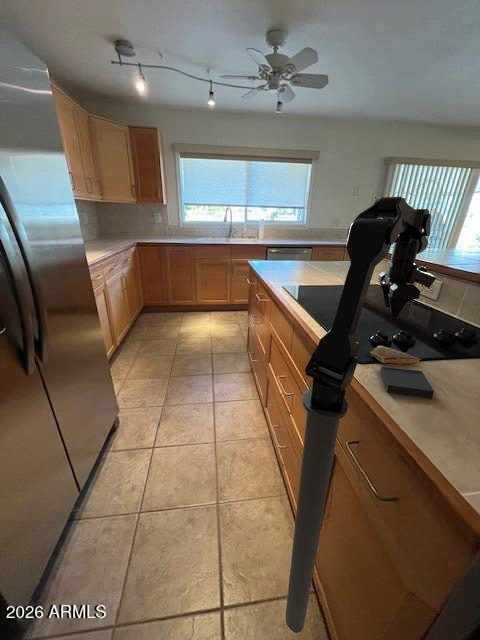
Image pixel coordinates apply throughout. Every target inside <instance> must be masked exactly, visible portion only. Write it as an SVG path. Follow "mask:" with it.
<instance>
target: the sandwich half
mask: <svg viewBox="0 0 480 640" xmlns="http://www.w3.org/2000/svg"><path fill="white" fill-rule="evenodd" d="M369 354H370V357H372V358H375V359H376V360H377V361H379V363H382V364H414V363H415V364H417V363H420V361H421V360H423V359H422V358H421V357H417V356H414V355H411V354H408V353H405V352H403V351H399V350H397V349H394V348H391V347H387V346H385V345H378V346H376V347H375V348H373V349H372V350H370V353H369Z"/></svg>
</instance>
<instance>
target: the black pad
mask: <svg viewBox="0 0 480 640" xmlns="http://www.w3.org/2000/svg"><path fill="white" fill-rule="evenodd" d="M379 374H380V377H381V380H382V382H383V386H384V388H385V391H386V393H391V394H397V395H405V396H411V397H418V398H425V399H431V400H432V399H433V396H434V394H435V390H434V388H433V386H432V385H431V384H430V381H429V380H428V378H426V376H425V374H424V372H423V370H419V369H410V368H402V367H394V366H386V365H380V370H379Z"/></svg>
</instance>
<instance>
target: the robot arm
mask: <svg viewBox="0 0 480 640" xmlns="http://www.w3.org/2000/svg"><path fill="white" fill-rule="evenodd" d="M431 224H432V214H431V213H430V210H429V209H428V208H414V207H413V206H412V205H410V203H408V202H407V201H406V198H405V197H402V196H381V197H380V198H377V199H376V200H375V202H374V203H373V204H372V205H370V206H369V207H367V208H365V210H362V211H361V212H360V213H358V214H357V216H356V217H355V218H354V220H353V221H352V223H351V224H350V225H349V227H348V229H347V235H346V236H347V237H346V239H347V241H346V245H345V246H346V247H345V248H346V252H347V254H348V258H349V266H348V269H347V272H346V276H345V279H344V282H343V286H342V290H341V294H340V297H339V301H338V304H337V307H336V310H335V315H334V318H333V321H332V325H331V328H330V329H329V331H327V332H326V333H325V334H324V335H323V336H321V338H320V339H319V341H318V344H317V346H316V347H315V349H314V351H313V352H312V355H311V357H310V358H309V361H308V362H307V364H306V366H305V368H304V373H305V376H307V377H310V378H312V383H311V388H312V389H311V388H310V389H311V393H310V408H312V409H318V410H324V411H330V412H336V413H341V406H342V405H343V403H344V398H345V397H346V388H347V387H349V385H350V384H351V383H352V382H353V379H354V376H355V372H356V369H357V365H358V361H359V360H358V354H359V351H360V349H361V345H360V343H359V342H357V338H356V330H357V327H358V324H359V321H360V317H361V315H362V310H363V307H364V305H365V301H366V298H367V294H368V291H369V288H370V284H371V281H372V279H373V274H374V271H375V268H376V266H378V264H379V263H381V262H382V261H383V260H384V259H385V258H386V257H387V256H388V255H389V253H390V251H391V248H392V247H393V248H392V252H391V256H390V260H388V261H387V265H388V271H386V270H385V271H384V270H383V271H382V272H381V273H379V274H378V281H379V285H380V289H381V293H382V297H383V301H384V305H385V307H386V308H390V312H391V317H392V318H395V319H396V318H398V317H399V315H400V313H401V311H402V310H403V309H404V307H405V306H406V304H407V303H408V302H411V301H414V300H419V299H420V296H421V293H422V291H421V289H419V288H418V287H417V286H416V285H415V283H417V284H418V285H421V286H424V287H425V288H427V289H431V286H433V284H434V282H435V281H436V280H437V276H435V275H433V274H431V273H430V272H428V268H427V267H425V266H422V265H419V266H418V265H417V264H416V259H417V255H419V254H421V253H423V252H424V251H425V250H426V249H427V248H428V246H429V240H428V238H427V237H429V236H430V235H431V227H432V225H431ZM392 245H393V246H392Z"/></svg>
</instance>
